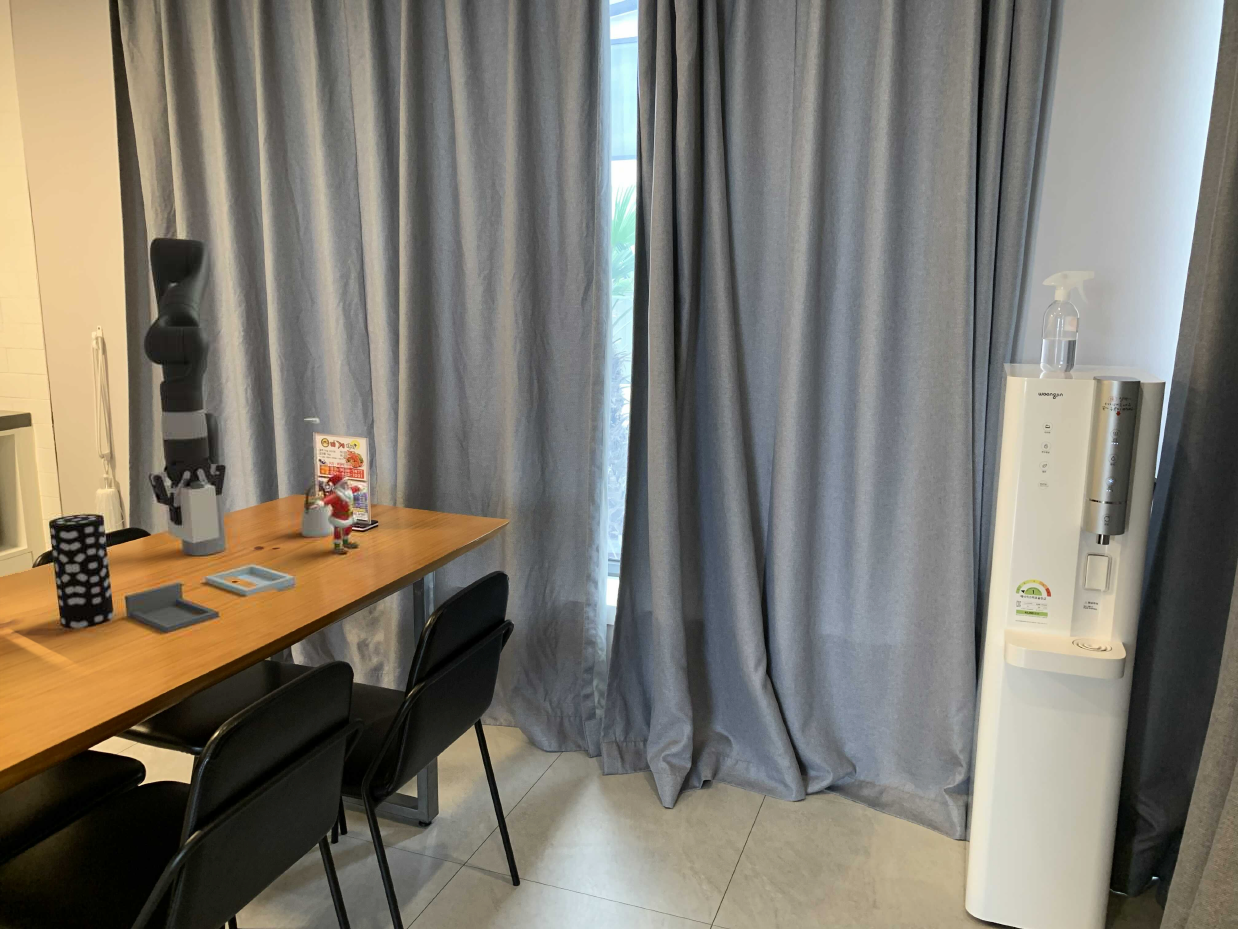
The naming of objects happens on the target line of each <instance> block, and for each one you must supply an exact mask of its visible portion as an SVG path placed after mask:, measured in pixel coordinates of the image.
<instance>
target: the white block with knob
mask: <svg viewBox="0 0 1238 929" xmlns="http://www.w3.org/2000/svg"><path fill="white" fill-rule="evenodd" d="M170 483H171V482H168V483H167V482H166V483H164V485H165V488H166V491H167V494H168V496H169V487H170ZM173 488H174V489H177V488H178V487H177V486H173ZM180 500H181V502H180V505H179V506H181V515H182V525H179V526H177V525H174V523H173V522H171V520H170V513H169V506H168V505H165V510H166V511H165V512H166V521H167V532H168V535H169V536H172V537H175V538H177V539H181V540H182V539H183V540H186V541H189V542H192V543H196V542H200V541H205V540H209V539H213V538H218V537H219V531H218V518H217V505H216V492H215V486H212V485H208V484H205V482H204V481H193V482H190V486H189V487H186V488H182V489H181V495H180Z"/></svg>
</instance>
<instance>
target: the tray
mask: <svg viewBox="0 0 1238 929" xmlns="http://www.w3.org/2000/svg"><path fill="white" fill-rule="evenodd" d="M204 577H205V578H204V580H205V583H206V584H209V585H213V586H216V587H218V588H222V589H225V590H227V591H231V592H234V593H236V594H240V595H243V596H245V597H248V596H252V595H255V594H259V593H262V592H265V591H269V590H273V591H277V592H281V591H284V590H289V589H290V588H294V587H296V577H295V576H293V575H290V574H287V573H284V572H280V571H276V570H274V569H270V568H267V567H264V566H260V565H256V564H254V563H253V564H248V565H245V566H242V567H239V568H235V569H230V570H227V571H223V572H219V573H216V574H215V573H214V574H212V575H207V576H204ZM231 577H233V578H236V579H239V580H242V581H246V582H249V583H252V584H255V586H252V587H245V586H242V585H239V584H237V583H233V582H230V581H228V580H224V579H229V578H231Z"/></svg>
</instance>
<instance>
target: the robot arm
mask: <svg viewBox="0 0 1238 929" xmlns="http://www.w3.org/2000/svg"><path fill="white" fill-rule="evenodd" d="M210 256H211V254H210V250H209V248H208V246H207V244H206V243H205V242H203V241H201V240H195V239H187V238H173V237H155V238H153V239H152V241H151V243H150V246H149V261H150V262H149V263H150V268H151V270H150V271H151V274H152V281H153V288H154V293H155V294H154V296H155V302H156V308H157V317H156V319H155V320H154V321H153V323H152V324H151V325H150V326H149V328H148V329H147V330H146V334H145V336H144V341H143V350H144V354H145V355H146V358H148V359H149V360H150V361H151V363H153V364H155V365H158V366H161V371H162V378H163V380H162V381H161V382H160V383H159V396H160V405H161V425H160V426H161V432H162V434H161V436H162V446H163V457H164V462H165V465H164V468H163V470H162V471H160V472H157V473H150V474H149V475H148V480H149V483H150V485H151V488H152V491H153V494H154V496H155V499H156V502H157V503H158V504H162V505H164V506H166V505H168V506H169V513H170V520H171V522H173V523H174V525H177V526H179V525H182V515H181V506H179V505H180V502H181V500H180V495H181V489H182V488H186V487H189V486H190V482H193V481H204V482H205V484H208V485H212V486H215V492H216V505H217V518H218V531H219V537H218V538H213V539H209V540H205V541H200V542H196V543H192V542H189V541H186V540H183V539H181V543H182V544H181V545H182V546H181V547H182V550H183V554H185V555H187V556H206V555H208V556H209V555H214V554H217V553H221V552H223V551H225V550H226V549H227V545H226V544H227V543H226V540H227V539H226V529H225V517H224V516H225V515H224V506H223V490H224V484H225V483H224V482H225V475H226V469H227V467H226V465H224V464H221V463H220V456H219V455H220V454H219V452H220V451H219V425H218V420H217V417H216V416H215V415H214V413H210V412H205V407H204V397H203V396H204V395H203V379H204V375H205V373H206V371H207V368H208V356H209V351H210V344H211V343H210V338H209V336H208V334H207V333H206V331H204V330H203V328H201V327H200V324H201V308H202V302H203V299H204V297H205V293H206V291H207V288H208V284H209V281H210V277H211V257H210ZM172 284H174V285H173V286H172ZM166 478H167V479H168V480H169V481H170V482H169V483H170V487H169V496H168V494H167V491H166V488H165V485H164V484H166V483H167V480H166ZM173 486H177V487H178V488H177V489H174V488H173Z"/></svg>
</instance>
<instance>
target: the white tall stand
mask: <svg viewBox="0 0 1238 929" xmlns="http://www.w3.org/2000/svg"><path fill="white" fill-rule="evenodd" d="M303 422H304V424H308V425H309V424H311V425H314V424H320V418H316V417H315V418H314V417H313V418H304V419H303ZM313 432H314V431H313V430H311V436H312V438H311V439H312V440H311V441H314V435H313V434H314V433H313ZM312 453H313V458H315V452H314V447H312ZM315 468H316V467H315V464H313V472H314V473H313V474H314V476H316V471H315ZM316 486H319V487H320V489H321V490H322V493H323V494H322V495H323V497H317V496H316V497H312V494H311V493H312V491H313V489H314V488H315V487H316ZM325 496H327V491H326V489H325V486H324V485H321V484H319V483H318V484H317V483H316V481H314V483H313V484H311V485H310V486H309V487H308V488H307V490H306V493H305V500H304V503H303V508H302V509H303V510H302V511H303V512H302V519H301V520H302V521H301V527H300V528H301V529H300V531H301V535H302V536H303V537H306V538H321V537H327V536H331V535H332V534H333V535H334V526H333V525H331V524H330V523H329V521H328V517H329V516H330V515H331V514H332V511H331V505H330V504H329V505H325V506H324V507H323V508H321V509H317V510H316V508H314V509H313V508H312V509H311V508H310V507H311V506H312V505H314V503H315V502H316V501H319V500H320V499H322V498H324V497H325Z"/></svg>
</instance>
